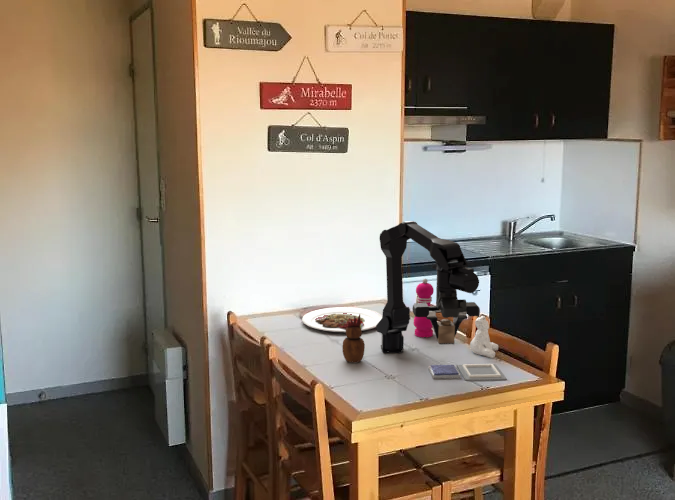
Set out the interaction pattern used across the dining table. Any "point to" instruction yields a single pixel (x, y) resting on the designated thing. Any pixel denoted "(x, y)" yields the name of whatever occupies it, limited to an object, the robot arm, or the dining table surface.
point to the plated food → (341, 318)
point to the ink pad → (444, 371)
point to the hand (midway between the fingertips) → (445, 337)
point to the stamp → (446, 332)
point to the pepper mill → (424, 296)
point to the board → (481, 372)
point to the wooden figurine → (353, 342)
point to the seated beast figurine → (483, 339)
